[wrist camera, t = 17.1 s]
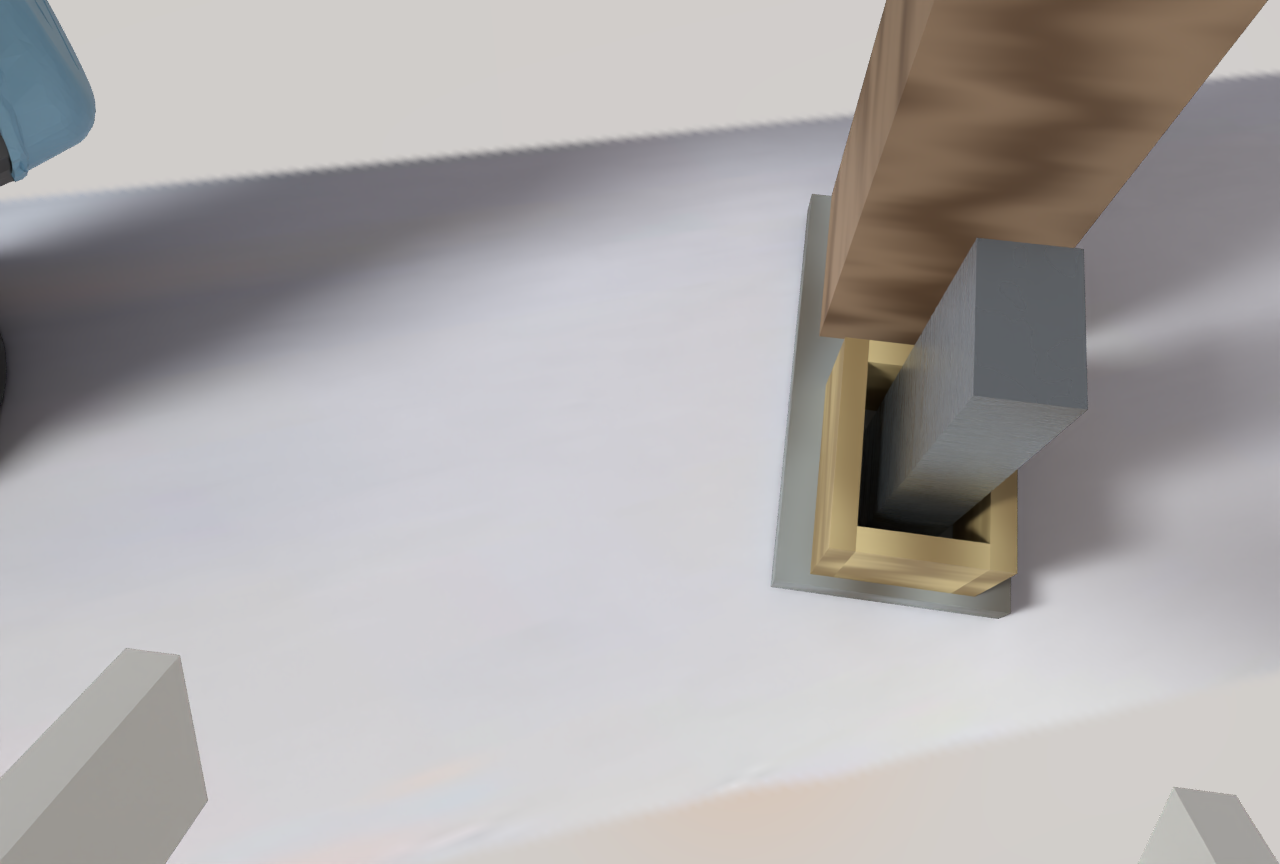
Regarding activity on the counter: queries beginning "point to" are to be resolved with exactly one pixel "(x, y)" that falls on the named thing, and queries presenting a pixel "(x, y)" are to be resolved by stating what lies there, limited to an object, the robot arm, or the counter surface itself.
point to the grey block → (979, 387)
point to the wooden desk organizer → (959, 243)
